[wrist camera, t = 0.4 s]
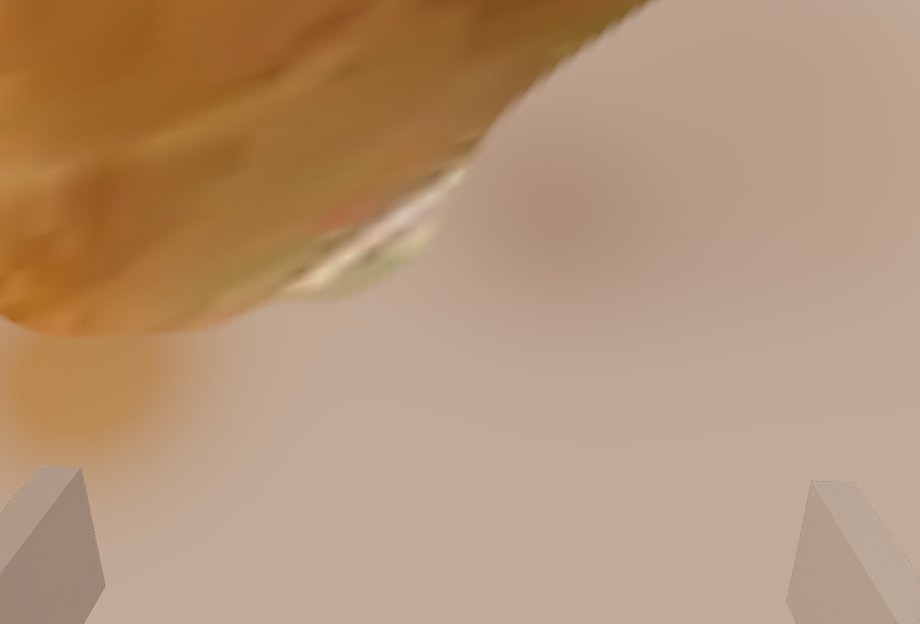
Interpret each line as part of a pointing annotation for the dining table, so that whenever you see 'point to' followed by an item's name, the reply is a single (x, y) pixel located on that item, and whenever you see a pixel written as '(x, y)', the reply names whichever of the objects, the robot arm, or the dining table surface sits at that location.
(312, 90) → the dining table surface
